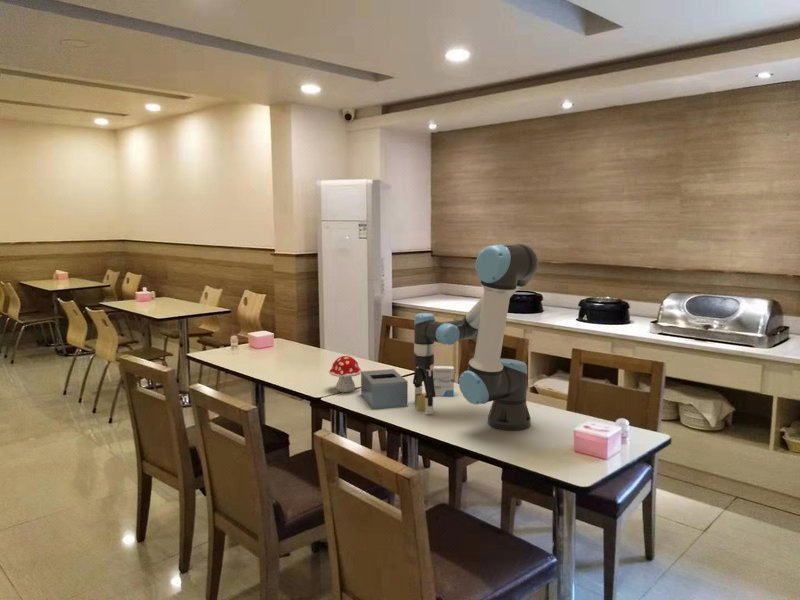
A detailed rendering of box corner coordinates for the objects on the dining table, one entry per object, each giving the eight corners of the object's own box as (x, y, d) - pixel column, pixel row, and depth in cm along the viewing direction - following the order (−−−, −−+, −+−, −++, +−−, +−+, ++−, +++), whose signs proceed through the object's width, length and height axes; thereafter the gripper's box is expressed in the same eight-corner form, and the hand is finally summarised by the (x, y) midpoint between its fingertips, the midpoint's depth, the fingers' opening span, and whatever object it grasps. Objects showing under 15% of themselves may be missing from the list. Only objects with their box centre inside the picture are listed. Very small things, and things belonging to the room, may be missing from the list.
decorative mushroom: (323, 393, 248) (322, 358, 246) (338, 384, 261) (337, 351, 259) (353, 396, 243) (353, 361, 242) (367, 388, 256) (366, 354, 254)
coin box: (407, 406, 231) (407, 381, 230) (372, 409, 227) (372, 384, 226) (393, 392, 250) (393, 369, 249) (361, 394, 246) (361, 371, 245)
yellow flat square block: (432, 409, 227) (432, 394, 227) (417, 410, 226) (417, 395, 225) (430, 407, 230) (430, 392, 229) (415, 409, 228) (415, 393, 227)
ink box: (453, 393, 249) (454, 365, 247) (453, 396, 244) (453, 368, 242) (433, 392, 250) (433, 365, 248) (432, 396, 245) (433, 368, 243)
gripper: (444, 360, 214) (444, 417, 217) (423, 346, 238) (422, 398, 240) (425, 362, 212) (424, 419, 215) (405, 347, 235) (405, 400, 238)
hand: (423, 408), depth 228 cm, fingers open, 12 cm apart
